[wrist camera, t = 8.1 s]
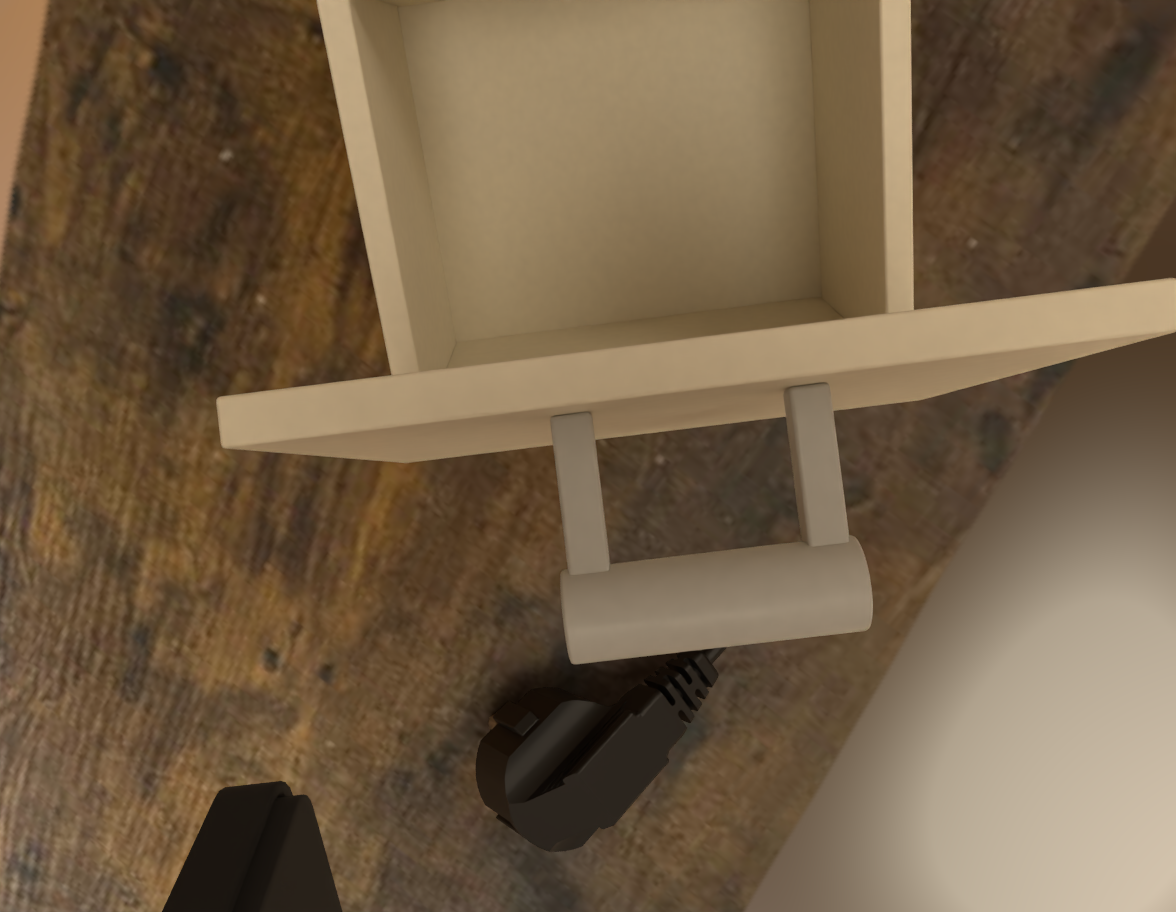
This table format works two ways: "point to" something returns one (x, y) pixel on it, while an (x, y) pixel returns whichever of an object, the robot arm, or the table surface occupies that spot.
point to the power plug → (585, 752)
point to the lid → (688, 400)
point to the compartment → (623, 168)
